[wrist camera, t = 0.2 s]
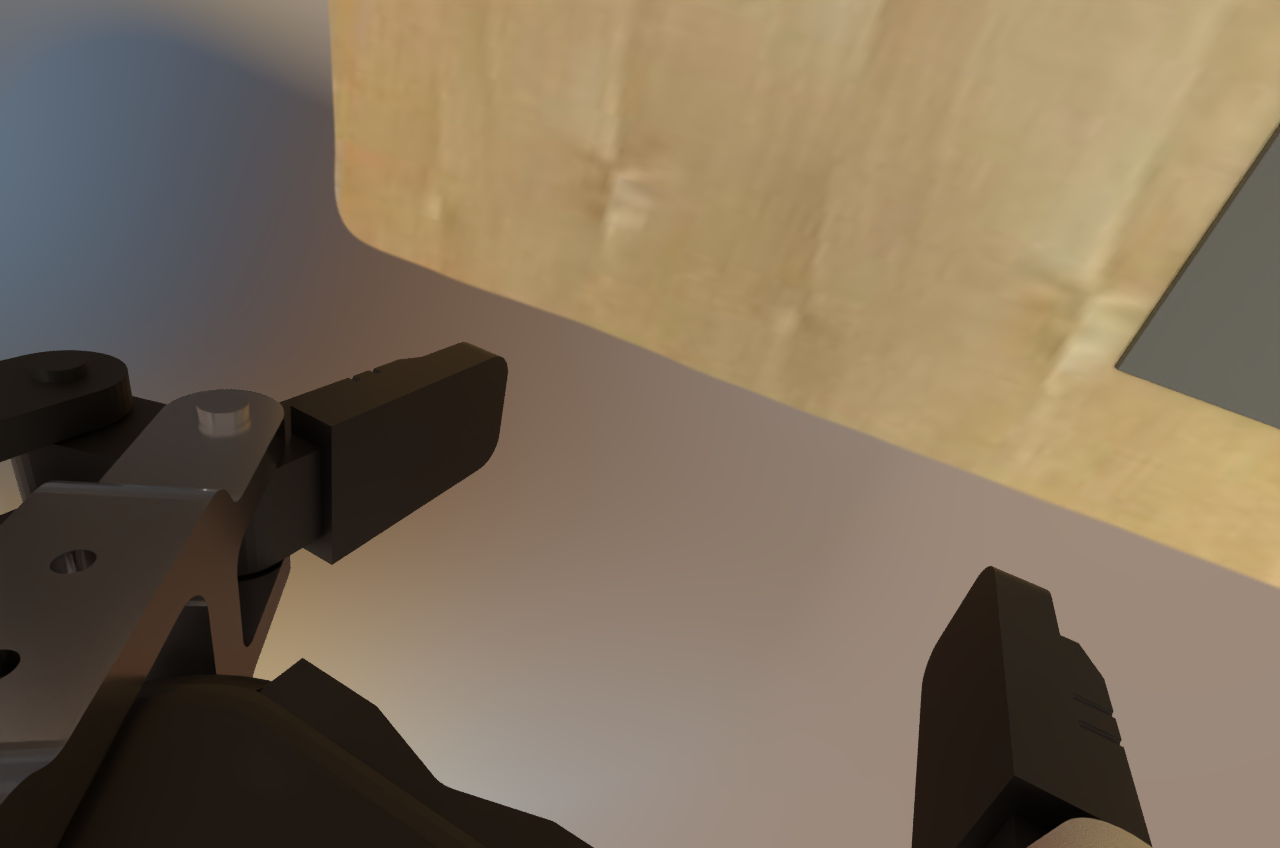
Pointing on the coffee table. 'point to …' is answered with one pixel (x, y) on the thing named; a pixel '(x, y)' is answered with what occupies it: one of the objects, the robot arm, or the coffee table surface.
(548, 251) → the coffee table surface
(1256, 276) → the mat
